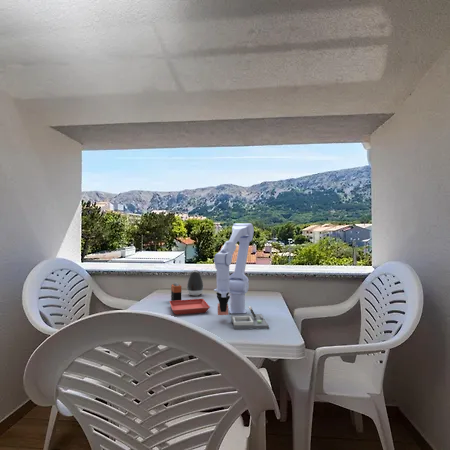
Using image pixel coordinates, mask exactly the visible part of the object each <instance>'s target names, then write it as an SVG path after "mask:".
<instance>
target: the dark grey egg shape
mask: <svg viewBox="0 0 450 450" xmlns="http://www.w3.org/2000/svg"><path fill="white" fill-rule="evenodd" d="M187 279H188V281H187V285H186V290H187V293H188V294H189V295H190V296H194V297H196V296H200V295H201V294H203V291H204V281H203V277H202V275H201V273H200V271H198V269H197V270H196V269H195V270H191V272H190V274H189V277H188V278H187Z"/></svg>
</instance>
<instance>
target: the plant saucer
mask: <svg viewBox="0 0 450 450" xmlns="http://www.w3.org/2000/svg"><path fill="white" fill-rule="evenodd" d="M169 304H170V307H171V311H172V312H173V313H174V315H175V316H177V315H188V314H189V315H191V314H192V315H193V314H203V313H207V312H208V311H209V309H210V308H211V306H210V305H209V304H208V302H207V301H205V299H204V298H191V299H181V300H176V301H172V300H169Z"/></svg>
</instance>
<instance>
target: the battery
mask: <svg viewBox="0 0 450 450" xmlns="http://www.w3.org/2000/svg"><path fill="white" fill-rule="evenodd" d="M170 287H171V288H170V289H171V290H170V294H171V295H170V297H171V298H170V299H171V300H170V301H176V300H182V285H181V284H179V283H178V282H174V283H173V284H171V286H170Z"/></svg>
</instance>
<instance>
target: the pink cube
mask: <svg viewBox="0 0 450 450" xmlns="http://www.w3.org/2000/svg"><path fill="white" fill-rule="evenodd" d="M217 316H229V304H228V303H227V308H226V312H221V310H220V304H219V302H218V303H217Z"/></svg>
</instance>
